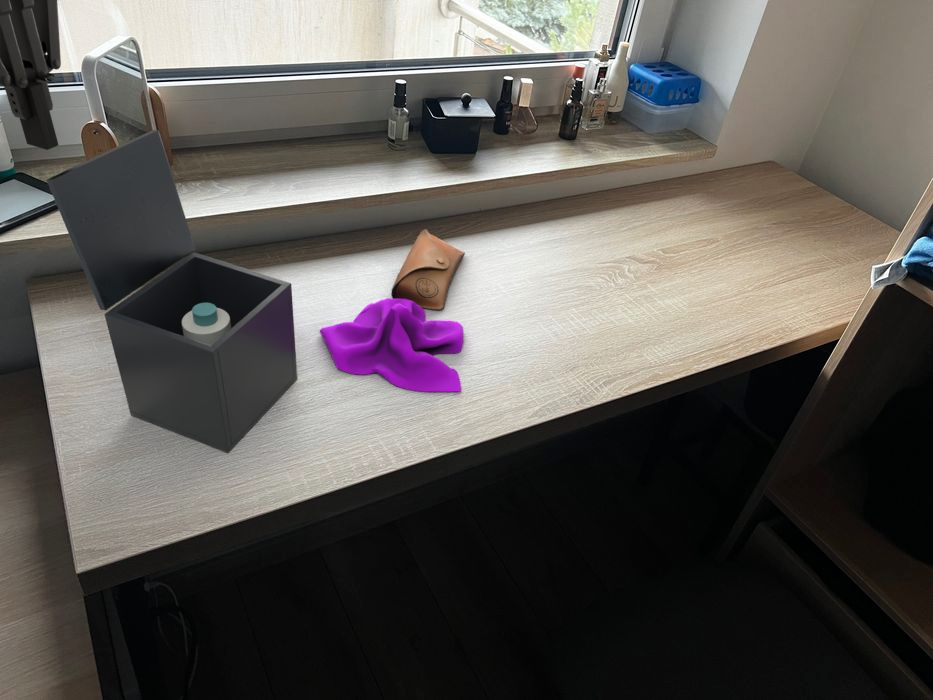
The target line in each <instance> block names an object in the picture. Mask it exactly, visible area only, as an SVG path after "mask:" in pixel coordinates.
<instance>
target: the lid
mask: <svg viewBox="0 0 933 700" xmlns="http://www.w3.org/2000/svg"><path fill="white" fill-rule="evenodd" d="M46 182H47V185H48V186H49V190H50V192H51V194H52V197H53V199H54V202H55V204H56V207H57V209H58V211H59V214H60V216H61V218H62V221H63V223H64V226H65V228H66V231H67V233H68V234H69V238H70V241H71V243H72V245H73V248H74V250H75V252H76V255H77V257H78V259H79V262H80V264H81V266H82V269H83V271H84V274H85V276H86V279H87V281H88V284H89V286H90V288H91V291H92V293H93V295H94V298H95V300H96V303H97V305H98V307H99V309H100V310H101V311H107V310H110V308H113V306H116V304H118V303H120V302H121V301H123V299H126V298H127V297H129V296H130V294H131V295H132V294H133V293H134V292H136V291H137V290H139V289H140V288H142V287H143V286H145V285H146V284H148V283H149V282H150V281H152V280H153V279H155V277H158V276H159V275H161V274H162V273H164V272H165V271H166V270H168V269H169V268H171V267H172V266H174V265H175V264H177V263H178V262H180V261H181V260H182V259H184V257H187V256H188V255H190V254H191V253H193V252H194V251H195V250H196V246H195V244H194V240H193V237H192V234H191V230H190V227H189V225H188V220H187V218H186V215H185V211H184V209H183V205H182V201H181V199H180V195H179V192H178V189H177V185H176V182H175V179H174V175H173V173H172V170H171V166H170V163H169V160H168V156H167V153H166V149H165V147H164V143H163V140H162V137H161V134H160V131H159V130H158V129H153V130H149V131H147V132H146V133H144V134H142V135H139V136H137V137H135V138H133V139H131V140H128V141H126V142H124V143H122V144H119V145H118V146H116V147H113V148H111V149H109V150H107V151H105V152H103V153H101V154H98V155H96V156H94V157H92V158H90V159H87V160H86V161H83V162H82V163H79V164H77V165H74V166H73V167H70V168H68V169H66V170H64V171H62V172H60V173H57V174H55V175H53V176H51V177H48V178H47V179H46Z"/></svg>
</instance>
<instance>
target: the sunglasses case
mask: <svg viewBox="0 0 933 700" xmlns="http://www.w3.org/2000/svg"><path fill="white" fill-rule="evenodd" d="M465 254H466V252H465V251H462V250H460V249H458V248H456V247H454V246H452V245H450V244H449V243H447V242H445V241H443V240H442V239H440V238H439V237H437V236H435V235H433V234H431V233H430V232H429V231H428V229H423V230H421V231H420V233H418V236H417V238H416V239H415V241H414V243H413V244H412V246H411V248H410V251H409V252H408V254H407V256H406V258H405V260H404V262H403V264H402V266H401V267H400V269H399V272H398V274H397V276H396V279H395V281H394V284H393V286H392V288H391V292H390V293H391V294H390V295H391V299H407V300H411V301H414V302H415V303H416V304H417V305H419V306H420V307H421V308H423V309H424V310H433V311H439V310H443V309H444V308H445V304H446V300H447V294H448V291H449V288H450V285H451V282H452V280H453V277H454V275H455V273H456V271H457V268H458V266H459V265H460V263H461V261H462V260H463V258H464V256H465Z"/></svg>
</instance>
